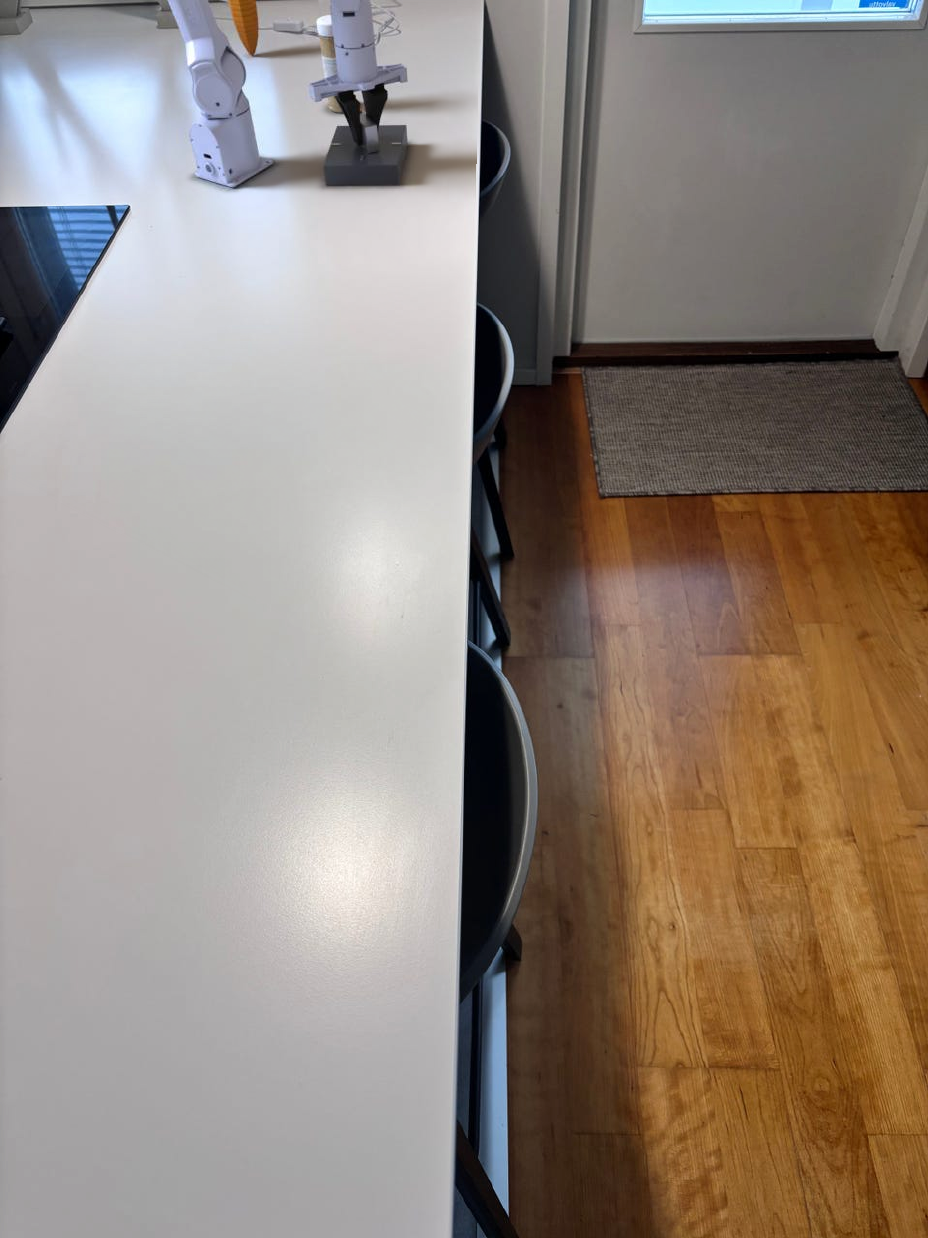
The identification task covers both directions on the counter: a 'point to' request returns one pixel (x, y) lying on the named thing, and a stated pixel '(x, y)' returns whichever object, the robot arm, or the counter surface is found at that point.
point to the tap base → (366, 158)
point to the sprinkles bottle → (328, 54)
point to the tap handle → (368, 133)
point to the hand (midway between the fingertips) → (365, 141)
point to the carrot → (246, 22)
